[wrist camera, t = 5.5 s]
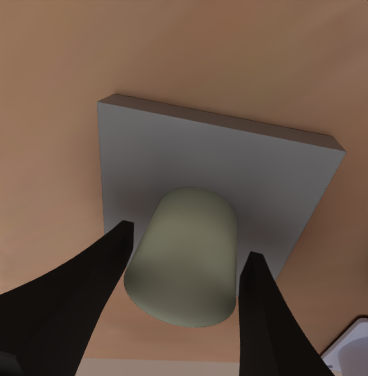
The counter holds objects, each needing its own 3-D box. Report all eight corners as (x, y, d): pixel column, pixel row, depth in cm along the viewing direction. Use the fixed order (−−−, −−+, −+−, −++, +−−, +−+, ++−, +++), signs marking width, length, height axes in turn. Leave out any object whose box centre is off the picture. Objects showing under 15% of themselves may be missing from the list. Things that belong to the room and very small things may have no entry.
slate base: (332, 136, 13) (346, 151, 11) (260, 279, 19) (262, 302, 18) (114, 93, 14) (97, 101, 12) (117, 243, 20) (106, 261, 19)
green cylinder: (247, 197, 13) (250, 271, 9) (226, 259, 16) (221, 337, 12) (158, 178, 14) (123, 240, 10) (153, 241, 16) (123, 311, 12)
